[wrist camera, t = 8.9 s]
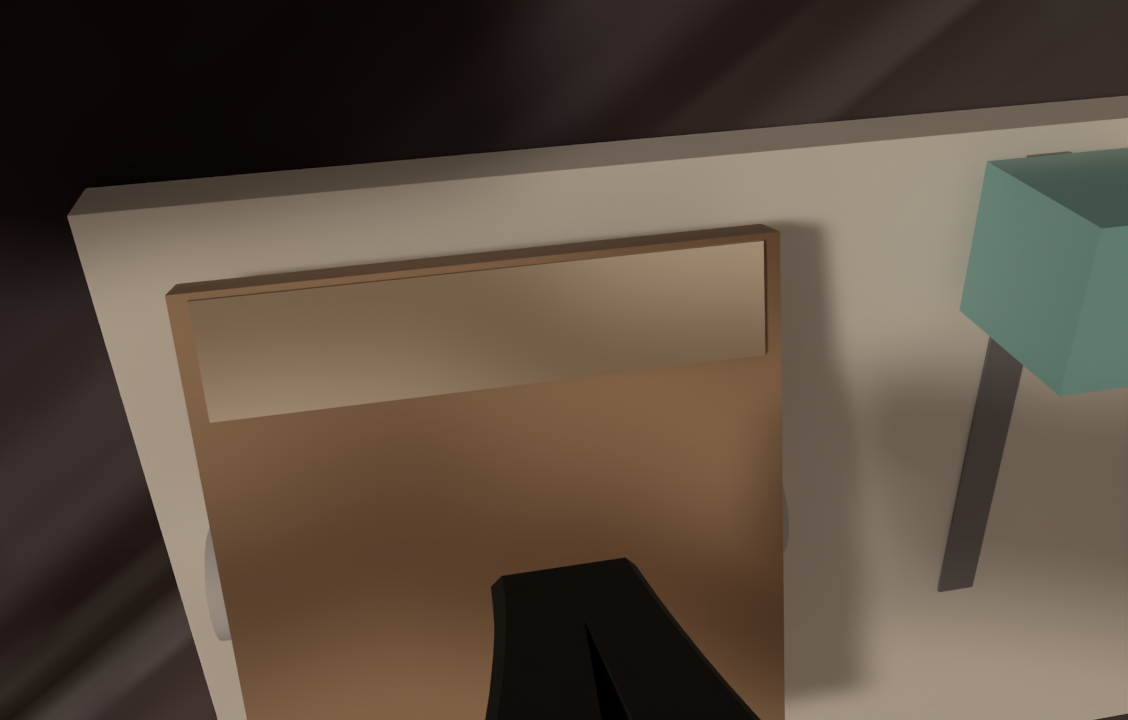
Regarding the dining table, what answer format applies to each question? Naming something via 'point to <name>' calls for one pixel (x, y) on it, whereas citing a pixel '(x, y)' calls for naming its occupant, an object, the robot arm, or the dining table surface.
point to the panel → (808, 371)
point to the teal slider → (1055, 267)
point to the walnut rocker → (486, 458)
